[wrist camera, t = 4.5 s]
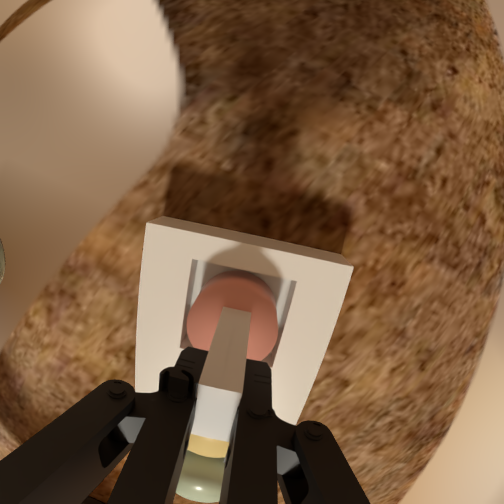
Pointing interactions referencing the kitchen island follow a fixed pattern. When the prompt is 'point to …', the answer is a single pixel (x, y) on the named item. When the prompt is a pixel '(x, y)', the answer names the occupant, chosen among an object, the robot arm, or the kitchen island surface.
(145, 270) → the panel
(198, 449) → the ochre button
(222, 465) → the sage button
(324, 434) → the robot arm
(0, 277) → the cup
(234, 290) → the brick button
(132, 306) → the kitchen island surface
